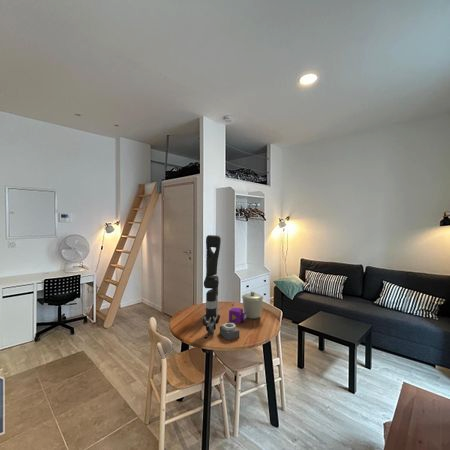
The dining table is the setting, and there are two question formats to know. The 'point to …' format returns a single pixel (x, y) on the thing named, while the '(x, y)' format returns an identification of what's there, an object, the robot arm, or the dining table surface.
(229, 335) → the camera body
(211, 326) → the lens
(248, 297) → the canister
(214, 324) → the robot arm
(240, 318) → the toy camera
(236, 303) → the dining table surface
